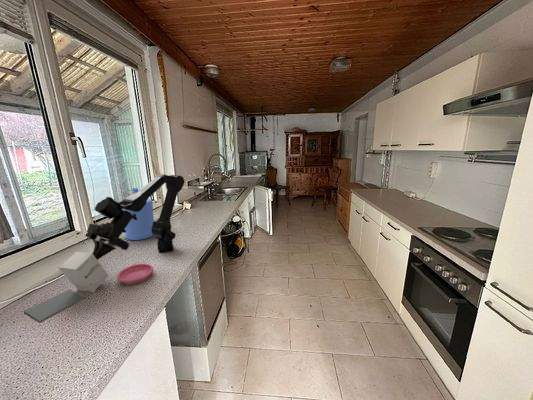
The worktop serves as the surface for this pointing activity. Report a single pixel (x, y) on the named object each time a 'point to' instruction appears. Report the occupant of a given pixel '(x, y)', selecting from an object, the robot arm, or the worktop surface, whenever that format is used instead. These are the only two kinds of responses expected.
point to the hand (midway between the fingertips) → (92, 261)
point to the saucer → (135, 274)
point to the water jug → (141, 222)
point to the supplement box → (84, 271)
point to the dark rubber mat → (54, 305)
